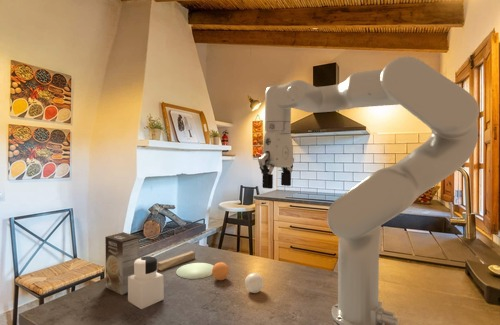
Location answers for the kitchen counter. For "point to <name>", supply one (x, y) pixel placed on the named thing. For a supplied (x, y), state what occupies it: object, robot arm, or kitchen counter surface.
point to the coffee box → (120, 260)
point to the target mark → (195, 270)
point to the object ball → (220, 271)
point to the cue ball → (253, 282)
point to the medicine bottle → (145, 283)
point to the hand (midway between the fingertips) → (277, 186)
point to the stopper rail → (175, 260)
